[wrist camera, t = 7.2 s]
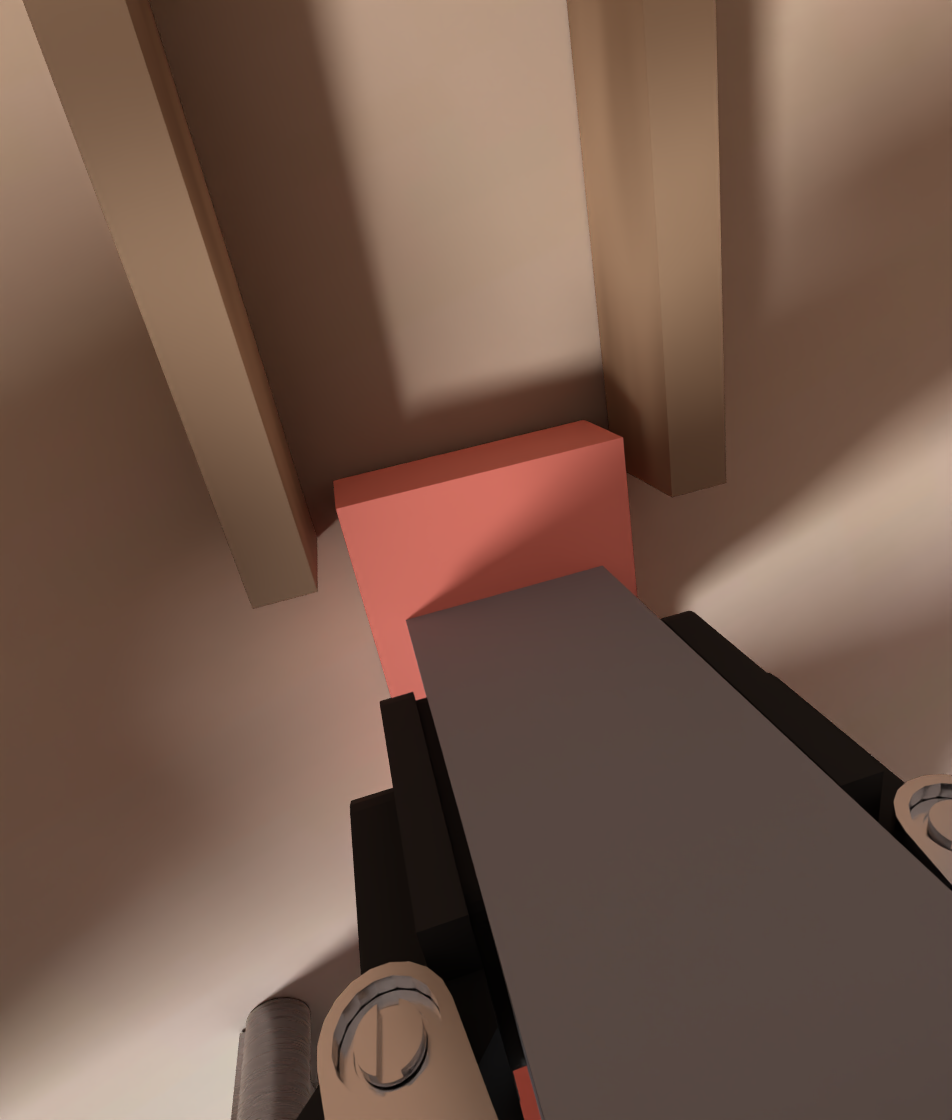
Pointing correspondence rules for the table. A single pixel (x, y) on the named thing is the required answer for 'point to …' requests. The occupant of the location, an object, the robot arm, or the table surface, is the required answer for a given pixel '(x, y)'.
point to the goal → (273, 1062)
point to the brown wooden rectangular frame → (615, 234)
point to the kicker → (643, 815)
